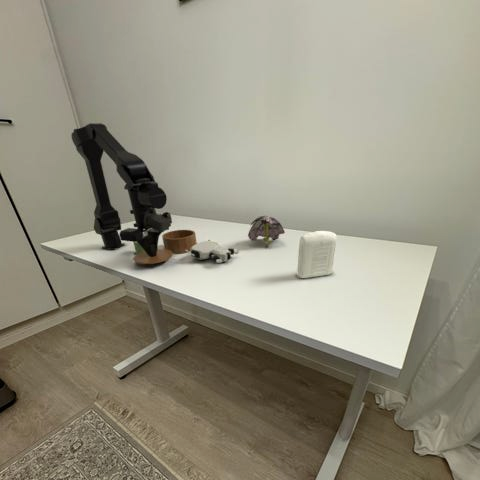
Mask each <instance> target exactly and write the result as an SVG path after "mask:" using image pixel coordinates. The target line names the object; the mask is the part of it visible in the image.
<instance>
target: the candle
mask: <svg viewBox="0 0 480 480" xmlns="http://www.w3.org/2000/svg"><path fill="white" fill-rule="evenodd" d="M132 243H133V247H134V249H135V255H137V254H139V253H141V252H144V249H143V248H142V247H141V246H140V244H139V243H138V242H137V241H135V242H132Z"/></svg>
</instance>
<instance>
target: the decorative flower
mask: <svg viewBox="0 0 480 480" xmlns="http://www.w3.org/2000/svg"><path fill="white" fill-rule="evenodd" d="M249 227H250V229H249V230H248V233H247V237H248V239H249V240H250V241H251V242H253V241H255V240H257V239H258V238H259V237H262V238H263V241H265V242H266V244H265V248H269V246H270V245H271V244H272V241H271V240H273V241H277V239H280V235H284V234H286V231H285V228H284V227H283V225H282V223H281V222H280V221H279V220H278V219H276V218H275V217H271V216H268V215H262V216H258V217H257V218H255V219H253V221H252V222H251V224H250V225H249ZM270 238H271V240H270Z"/></svg>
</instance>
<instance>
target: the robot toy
mask: <svg viewBox="0 0 480 480" xmlns="http://www.w3.org/2000/svg"><path fill="white" fill-rule="evenodd" d="M185 251H186V253H188V254H189V255H190V256H191V257H192V258H195V259H197V260H199V261H202V260H208V259H212V261H213V262H214V264H221V263H223V262H227V261H228V260H231V258H232V256H234V255H238V254H239V250H237V249H234V248H227V247H223V246H220V243H218V242H215V241H211V240H210V239H208V240H204V241H200V242H197V244H195V245H194V246H192V247H191V249H190V252H189V251H187V250H185Z"/></svg>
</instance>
